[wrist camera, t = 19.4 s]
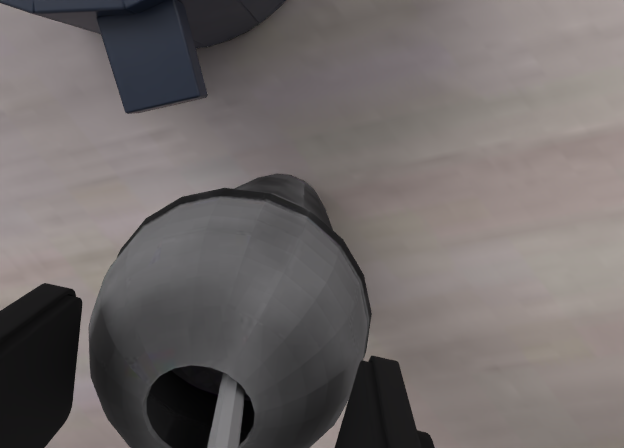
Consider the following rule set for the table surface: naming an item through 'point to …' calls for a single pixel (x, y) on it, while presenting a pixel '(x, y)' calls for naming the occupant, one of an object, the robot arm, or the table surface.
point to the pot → (156, 40)
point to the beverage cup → (230, 322)
